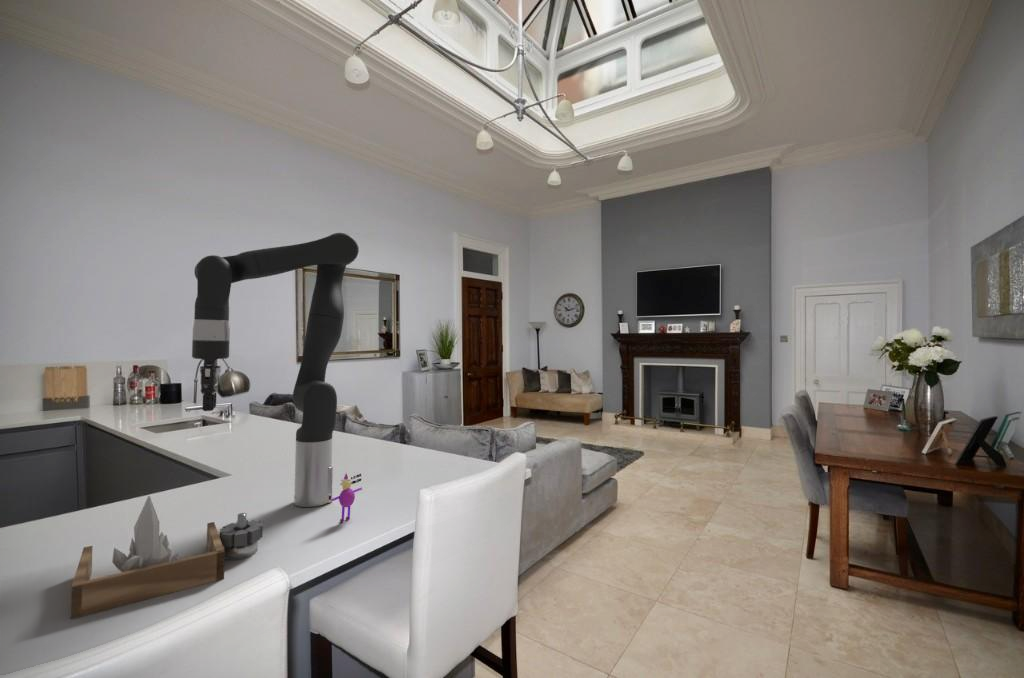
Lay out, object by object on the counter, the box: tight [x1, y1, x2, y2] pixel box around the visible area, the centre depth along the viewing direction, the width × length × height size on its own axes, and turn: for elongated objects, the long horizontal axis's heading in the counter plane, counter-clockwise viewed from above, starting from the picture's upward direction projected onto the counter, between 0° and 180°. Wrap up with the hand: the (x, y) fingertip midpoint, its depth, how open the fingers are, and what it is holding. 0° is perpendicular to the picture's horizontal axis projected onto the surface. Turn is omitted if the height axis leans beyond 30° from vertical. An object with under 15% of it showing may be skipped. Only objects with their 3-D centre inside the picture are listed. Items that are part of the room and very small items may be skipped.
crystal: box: [112, 495, 180, 573], centre depth 83 cm, size 10×13×15 cm
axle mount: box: [223, 512, 259, 561], centre depth 94 cm, size 6×6×8 cm
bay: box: [70, 521, 225, 620], centre depth 84 cm, size 17×20×5 cm
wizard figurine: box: [327, 472, 364, 523], centre depth 111 cm, size 11×3×12 cm, turn 155°
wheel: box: [219, 519, 264, 547], centre depth 94 cm, size 8×8×2 cm
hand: (209, 408), depth 109 cm, fingers open, 5 cm apart
